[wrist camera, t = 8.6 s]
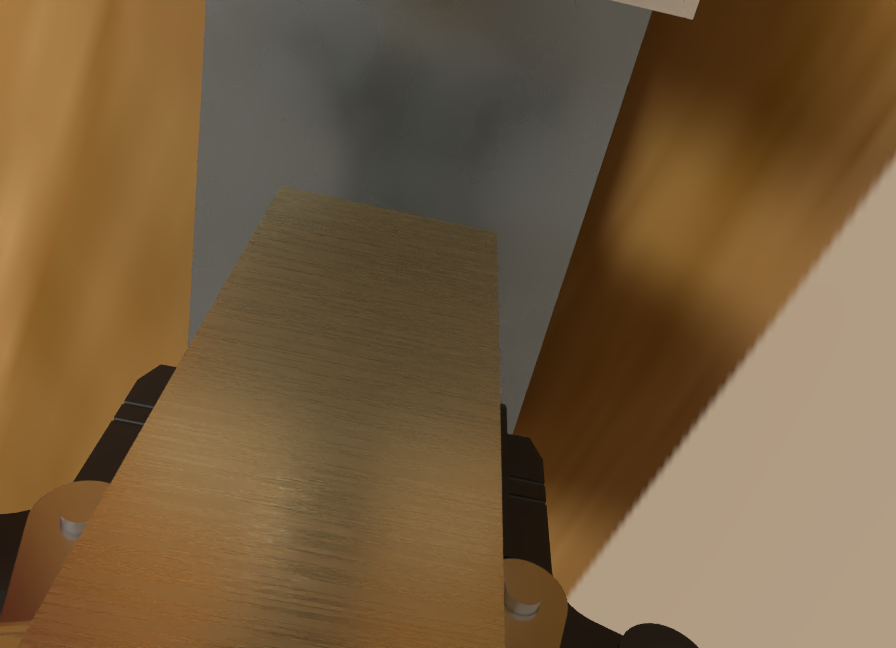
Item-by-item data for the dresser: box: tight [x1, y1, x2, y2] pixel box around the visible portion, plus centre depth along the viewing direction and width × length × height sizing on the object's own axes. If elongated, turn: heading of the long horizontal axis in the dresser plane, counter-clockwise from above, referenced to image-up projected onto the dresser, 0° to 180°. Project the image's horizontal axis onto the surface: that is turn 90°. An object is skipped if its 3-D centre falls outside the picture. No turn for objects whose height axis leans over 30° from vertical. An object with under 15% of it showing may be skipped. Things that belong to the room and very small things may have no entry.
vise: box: [188, 0, 652, 434], centre depth 18 cm, size 18×10×8 cm, turn 168°
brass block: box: [17, 186, 505, 648], centre depth 12 cm, size 4×6×10 cm, turn 168°
